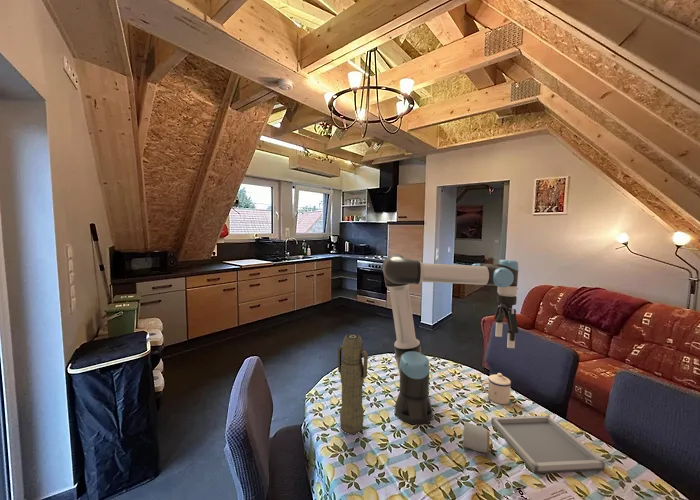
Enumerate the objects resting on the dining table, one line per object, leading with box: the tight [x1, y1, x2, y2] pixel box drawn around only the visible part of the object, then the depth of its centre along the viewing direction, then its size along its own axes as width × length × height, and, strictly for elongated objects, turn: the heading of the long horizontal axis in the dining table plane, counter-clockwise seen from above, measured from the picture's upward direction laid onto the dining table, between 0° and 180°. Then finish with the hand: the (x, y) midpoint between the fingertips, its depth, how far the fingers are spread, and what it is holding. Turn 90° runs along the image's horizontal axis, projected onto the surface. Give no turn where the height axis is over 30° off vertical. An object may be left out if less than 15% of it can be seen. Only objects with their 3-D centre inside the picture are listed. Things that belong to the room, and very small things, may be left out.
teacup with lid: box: [480, 372, 512, 405], centre depth 127 cm, size 12×9×12 cm
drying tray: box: [490, 415, 606, 475], centre depth 99 cm, size 23×23×2 cm
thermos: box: [337, 333, 369, 435], centre depth 107 cm, size 9×12×35 cm
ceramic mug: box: [462, 421, 491, 454], centre depth 99 cm, size 11×8×8 cm
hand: (504, 341), depth 126 cm, fingers open, 13 cm apart
